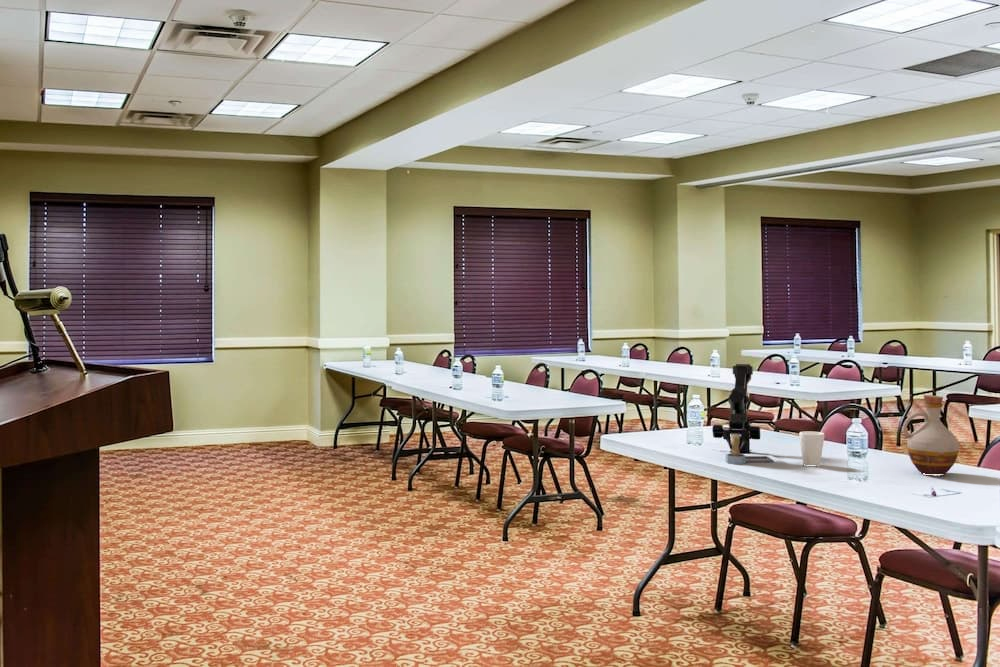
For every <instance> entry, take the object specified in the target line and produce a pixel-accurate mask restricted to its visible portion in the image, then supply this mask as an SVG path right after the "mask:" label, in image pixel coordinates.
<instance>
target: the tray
mask: <svg viewBox="0 0 1000 667" xmlns="http://www.w3.org/2000/svg"><path fill="white" fill-rule="evenodd" d="M747 463H749V464H757V463H759V464H760V463H762V464H764V463H765V464H766V463H771V464H773V463H775V461H774V459H772V458H771V457H769V456H768V455H763V456H762V455H759V456H758V455H752V456H751V455H749V456H748V455H747V456H746V455H745V464H747Z"/></svg>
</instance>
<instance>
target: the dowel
mask: <svg viewBox="0 0 1000 667" xmlns="http://www.w3.org/2000/svg"><path fill="white" fill-rule="evenodd" d="M730 436H731V449H730V450H731V453H730V454H731V456H740V454H741V453H740V450H739V444H740V436H741V435H734V434H733V435H731V434H730Z"/></svg>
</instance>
